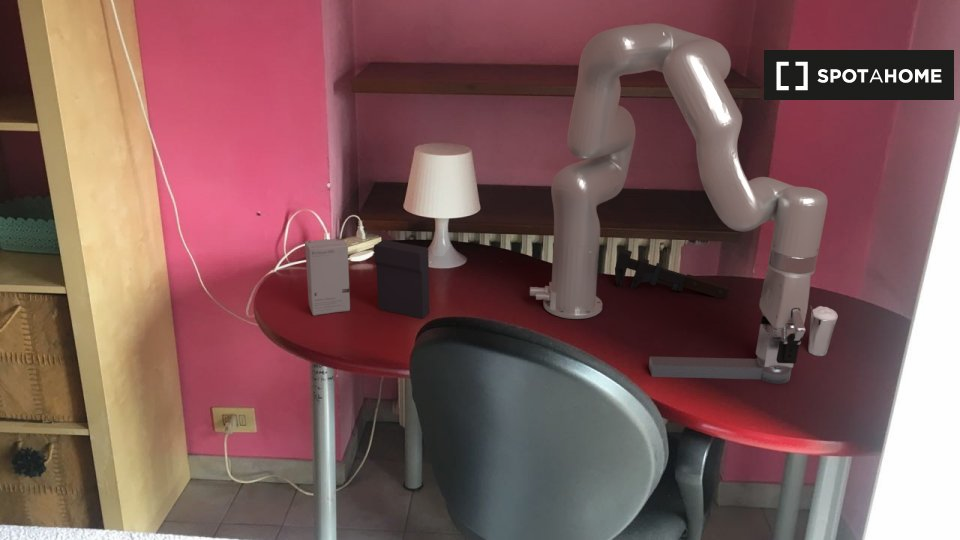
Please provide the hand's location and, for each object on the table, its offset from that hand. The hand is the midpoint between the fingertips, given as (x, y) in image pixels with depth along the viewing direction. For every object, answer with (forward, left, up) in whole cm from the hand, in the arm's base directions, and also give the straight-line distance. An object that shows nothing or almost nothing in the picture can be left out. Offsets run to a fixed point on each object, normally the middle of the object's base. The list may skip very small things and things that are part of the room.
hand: (776, 349), depth 136 cm
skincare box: (-86, +24, -6) cm, 89 cm away
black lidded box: (-70, +23, -6) cm, 74 cm away
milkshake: (+11, +9, -6) cm, 15 cm away
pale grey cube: (0, 0, -2) cm, 2 cm away
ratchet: (-9, 0, -5) cm, 11 cm away
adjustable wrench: (-11, +37, -6) cm, 39 cm away
